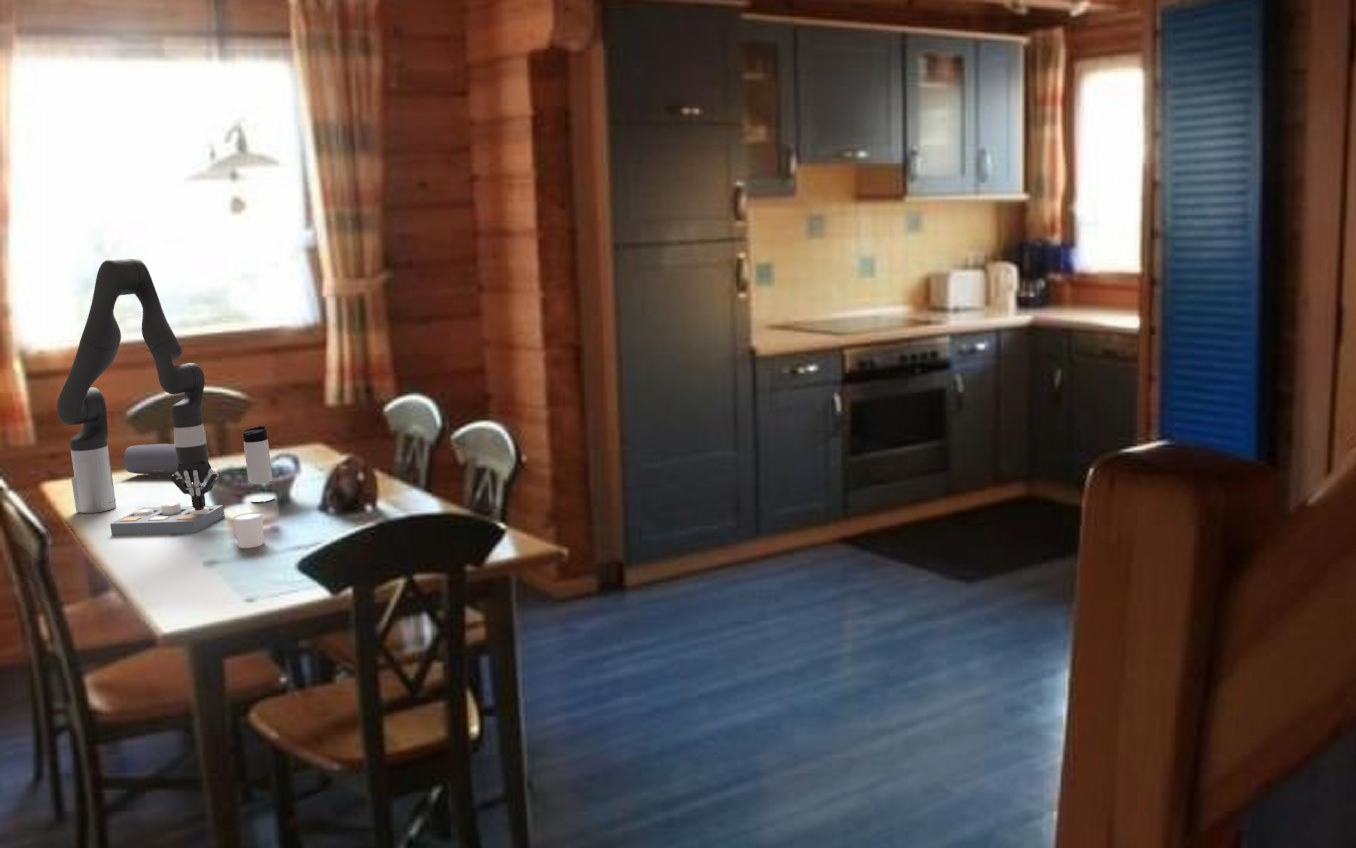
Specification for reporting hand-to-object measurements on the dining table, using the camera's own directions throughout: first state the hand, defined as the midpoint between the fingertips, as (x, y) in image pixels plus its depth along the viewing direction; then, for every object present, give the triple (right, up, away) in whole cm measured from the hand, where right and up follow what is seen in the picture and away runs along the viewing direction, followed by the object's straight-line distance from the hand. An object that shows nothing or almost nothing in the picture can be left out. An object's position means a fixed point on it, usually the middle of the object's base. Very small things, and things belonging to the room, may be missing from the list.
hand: (199, 509), depth 331 cm
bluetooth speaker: (-33, +6, +63) cm, 71 cm away
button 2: (0, -3, +1) cm, 3 cm away
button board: (-8, -4, 0) cm, 9 cm away
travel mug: (+9, +1, +22) cm, 24 cm away
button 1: (-15, -3, +2) cm, 15 cm away
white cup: (+21, -7, -24) cm, 32 cm away
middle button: (-8, -2, +1) cm, 8 cm away
